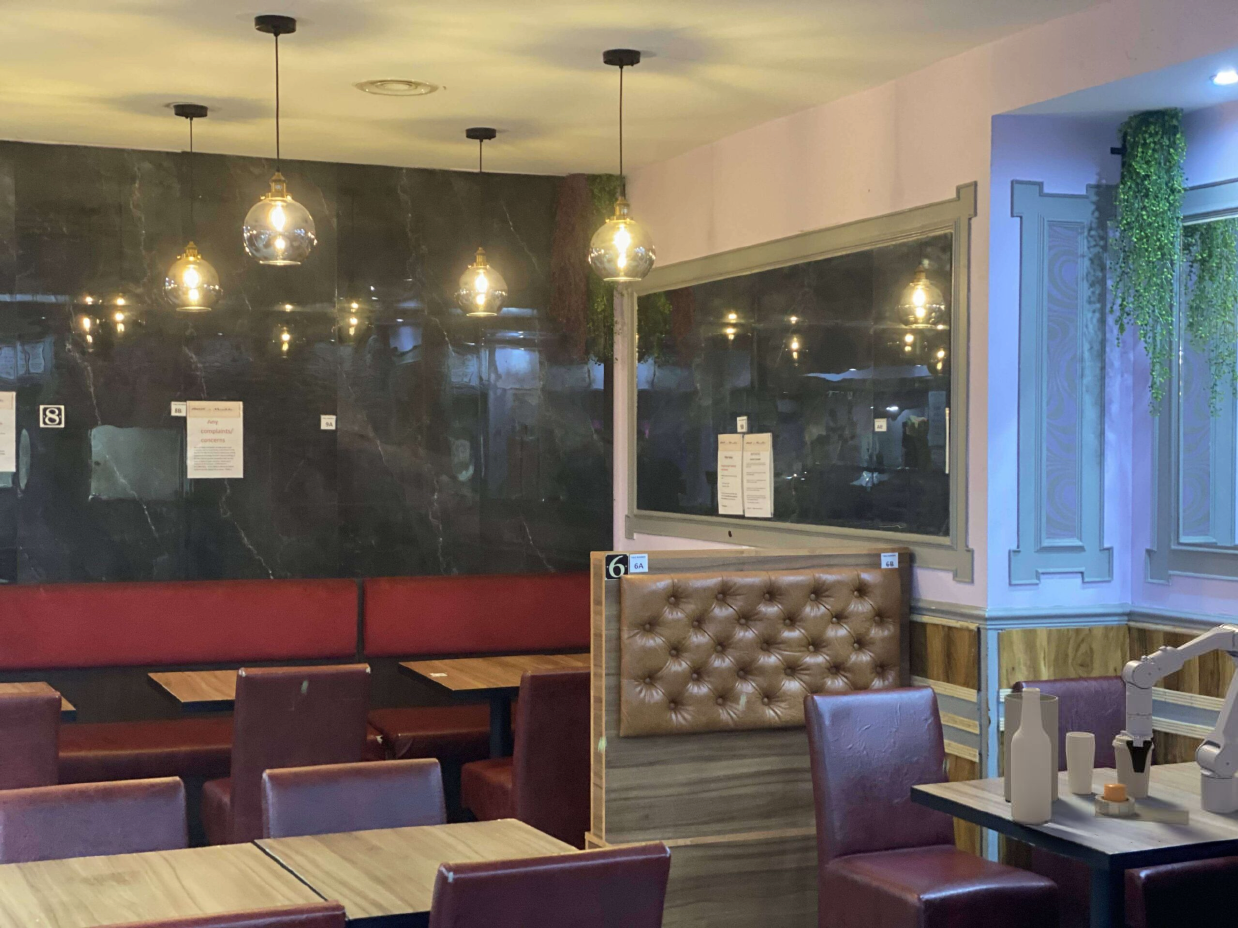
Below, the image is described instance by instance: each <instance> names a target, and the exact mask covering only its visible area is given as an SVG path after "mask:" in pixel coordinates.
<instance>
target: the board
mask: <svg viewBox="0 0 1238 928" xmlns="http://www.w3.org/2000/svg"><path fill="white" fill-rule="evenodd" d="M1094 811H1095V810H1094ZM1189 813H1190V811H1189V810H1184V809H1174V808H1173V809H1172V808H1160V807H1148V806H1137V805H1135V814H1134V815H1130V816H1112V815H1105V814H1101V813H1098V812H1096V811H1095V812H1094V816H1093V817H1094V818H1104V819H1113V820H1114V819H1115V820H1125V821H1134V822H1135V821H1138V822H1145V823H1146V822H1149V823H1160V824H1169V825H1170V824H1172V825H1183V826H1189V824H1190V823H1189V822H1190V821H1189V818H1190V814H1189Z"/></svg>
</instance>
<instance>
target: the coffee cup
mask: <svg viewBox="0 0 1238 928" xmlns="http://www.w3.org/2000/svg"><path fill="white" fill-rule="evenodd" d="M1127 740H1132V739H1131V738H1129V737H1127V736H1126V735H1121V734H1117V735H1115V739H1113V741H1112V744H1111V745H1112V746H1113V747H1114V757H1115V767H1116V768H1115V769H1116V780H1117V783H1118V784H1123V785H1126V796H1129V797H1132V798H1134V799H1145V798H1147V797H1149V785H1150V774H1151V763H1152V753H1153V749H1154V748H1155V744H1154V743H1153V741H1152V739H1151V738H1149V739H1146V740H1151V741H1152V746H1151V748H1150V750H1149V752H1148V755H1147V759H1146V765H1145V770H1144V773H1135V772H1134V769H1133V765H1132V759H1131V755H1130V752H1129V749H1128V747H1127V745H1126V741H1127Z"/></svg>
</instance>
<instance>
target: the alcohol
mask: <svg viewBox="0 0 1238 928" xmlns="http://www.w3.org/2000/svg"><path fill="white" fill-rule="evenodd" d="M1021 691H1022V693H1023V694H1022V696H1023V702H1022V714H1021V725H1020V728H1019V730H1018V731H1017V732H1016V733H1015V734H1014V736H1013V739H1012V743H1011V802H1010V810H1011V811H1010V816H1011V818H1012V820H1013V821H1015V822H1016V823H1018V824H1023V825H1030V826H1031V825H1033V826H1034V825H1035V826H1036V825H1037V826H1039V825H1040V826H1041V825H1047V824H1048V823H1049V820H1051V819H1052V802H1051V742H1050V738H1049V737H1048V735H1047V734H1046V733H1045V732H1044V730H1043V727H1042V720H1041V707H1040V694H1041V689H1040V688H1038V687H1024V688H1022V690H1021Z"/></svg>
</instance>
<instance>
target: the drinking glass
mask: <svg viewBox="0 0 1238 928" xmlns="http://www.w3.org/2000/svg"><path fill="white" fill-rule="evenodd" d="M1095 739H1096V738H1095V734H1093V733H1090V732H1083V731H1069V732H1067V733H1066V735H1065V755H1066V756H1065V757H1066V767H1067V779H1068V792H1070V793H1072V794H1077V795H1090V794H1092V792H1093V789H1092V788H1093V776H1094V765H1095V764H1094V763H1095V762H1094V761H1095V754H1096V753H1095V752H1096V744H1095V743H1096V742H1095Z"/></svg>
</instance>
